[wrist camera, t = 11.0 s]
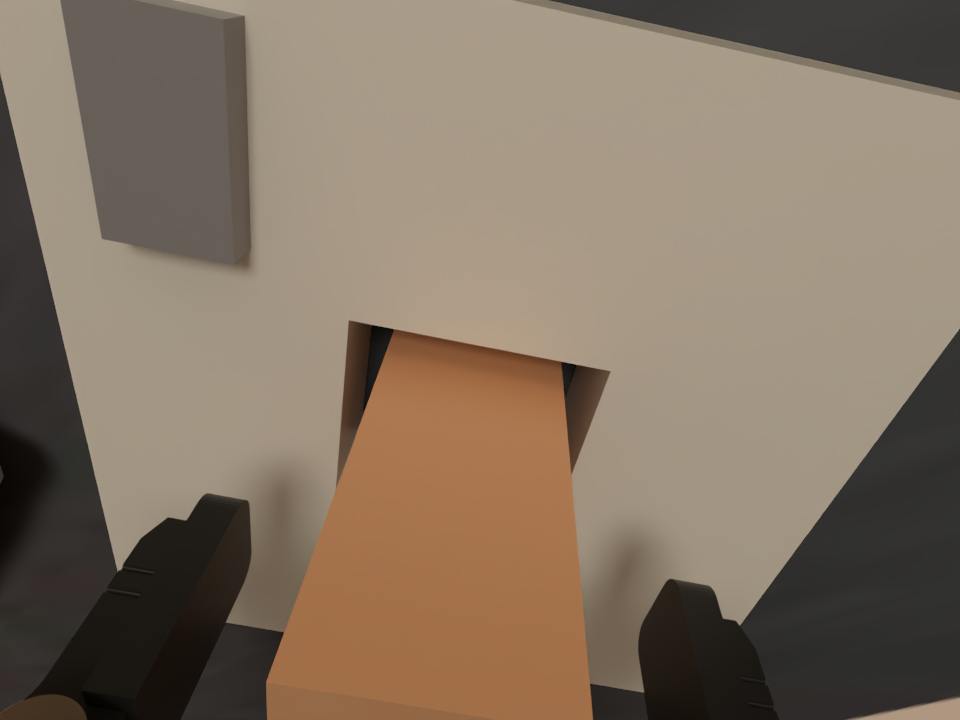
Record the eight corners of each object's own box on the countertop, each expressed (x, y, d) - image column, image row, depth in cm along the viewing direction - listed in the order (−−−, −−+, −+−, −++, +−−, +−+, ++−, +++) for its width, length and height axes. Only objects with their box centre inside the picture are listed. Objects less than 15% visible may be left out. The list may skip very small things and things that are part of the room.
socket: (984, 98, 12) (1147, 145, 9) (667, 616, 22) (690, 725, 19) (81, -105, 11) (-94, -132, 8) (173, 529, 21) (110, 629, 18)
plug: (558, 325, 16) (614, 963, 6) (524, 439, 18) (520, 1043, 8) (406, 295, 15) (186, 901, 5) (390, 414, 18) (213, 1002, 8)
